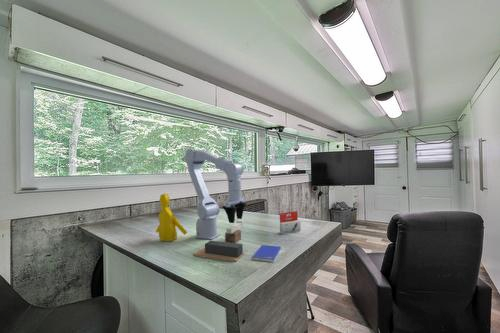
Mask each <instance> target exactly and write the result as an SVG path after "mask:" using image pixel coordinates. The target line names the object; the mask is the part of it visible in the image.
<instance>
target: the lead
mask: <svg viewBox="0 0 500 333" xmlns="http://www.w3.org/2000/svg"><path fill="white" fill-rule="evenodd" d="M204 248H205V253H208V254H215V255H222V256H230V257H237V258H238V257H239V256H240V255H242V254H243V252H244V251H243V243H238V242H236V243H229V242H225V241H218V240H209V241H207V242H205V243H204Z"/></svg>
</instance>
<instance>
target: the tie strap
mask: <svg viewBox="0 0 500 333" xmlns="http://www.w3.org/2000/svg"><path fill="white" fill-rule="evenodd" d="M244 227H245V220H244V219H237V220H236V223H233V224H232V225H231V226H229V227H228V226H227V228H226V232H227V233H230V234H232V233H233V232H235V231H237V230H241V228H244Z"/></svg>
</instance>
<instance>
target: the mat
mask: <svg viewBox="0 0 500 333" xmlns="http://www.w3.org/2000/svg"><path fill="white" fill-rule="evenodd" d="M192 255H193V256H194V257H200V258H208V259H215V260H224V261H231V262H235V263H236V262H238V261H239V260H240V259H241V258H242V257H243V256H244V255H245V252H244V251H243V254H242V255H240V256H239V257H238V258H237V257H230V256H222V255H215V254H208V253H205V247H203V248H201V249H199V250H198V251H196V252H194V253H193V254H192Z"/></svg>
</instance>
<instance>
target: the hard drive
mask: <svg viewBox="0 0 500 333" xmlns="http://www.w3.org/2000/svg"><path fill="white" fill-rule="evenodd" d="M281 251H282V247H281V246H278V245H266V244H261V245H260V247H259V248H258V249H257V250H256V252H254V253H253V255H252V256H251V260H254V261H262V262H269V263H275V261H276V260H277V257H278V256H279V254H280V252H281Z"/></svg>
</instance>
